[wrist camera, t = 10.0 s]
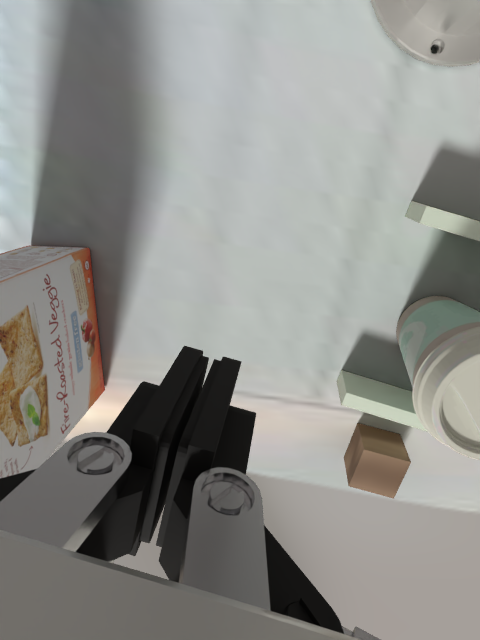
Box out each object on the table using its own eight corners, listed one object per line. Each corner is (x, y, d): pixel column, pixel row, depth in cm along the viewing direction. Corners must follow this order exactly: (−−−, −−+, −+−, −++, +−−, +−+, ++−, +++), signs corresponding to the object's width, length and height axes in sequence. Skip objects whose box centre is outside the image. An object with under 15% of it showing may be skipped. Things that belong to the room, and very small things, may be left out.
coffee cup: (384, 278, 34) (432, 335, 23) (496, 279, 33) (603, 339, 22) (374, 373, 37) (412, 465, 26) (477, 376, 36) (562, 473, 25)
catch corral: (411, 200, 32) (426, 205, 28) (586, 252, 32) (624, 264, 28) (336, 381, 38) (341, 405, 34) (484, 426, 38) (504, 455, 34)
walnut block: (357, 422, 39) (364, 449, 36) (399, 433, 39) (410, 462, 36) (343, 456, 41) (348, 486, 37) (384, 467, 41) (393, 498, 37)
